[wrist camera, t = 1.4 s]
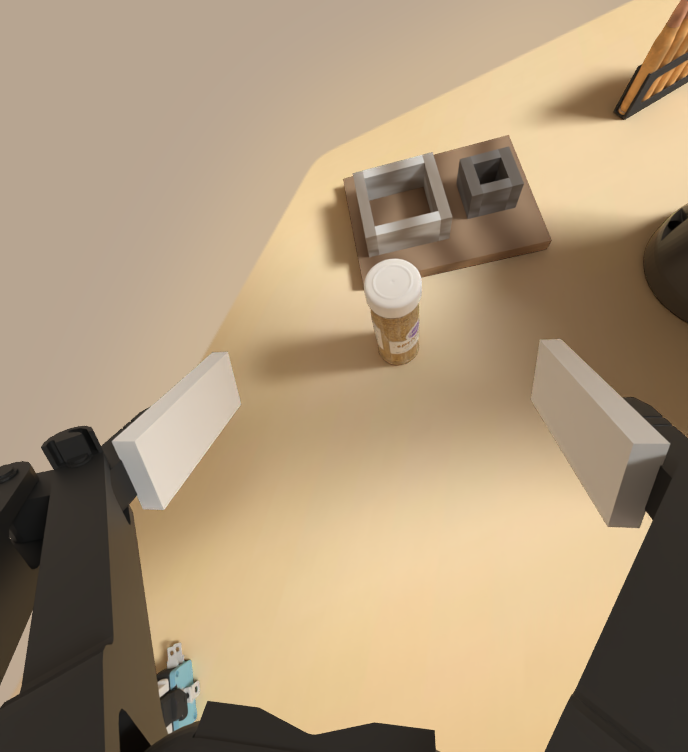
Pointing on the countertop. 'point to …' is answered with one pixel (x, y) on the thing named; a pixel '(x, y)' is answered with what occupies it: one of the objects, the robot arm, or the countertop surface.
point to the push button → (177, 691)
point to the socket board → (446, 209)
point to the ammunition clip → (659, 66)
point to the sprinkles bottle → (395, 308)
